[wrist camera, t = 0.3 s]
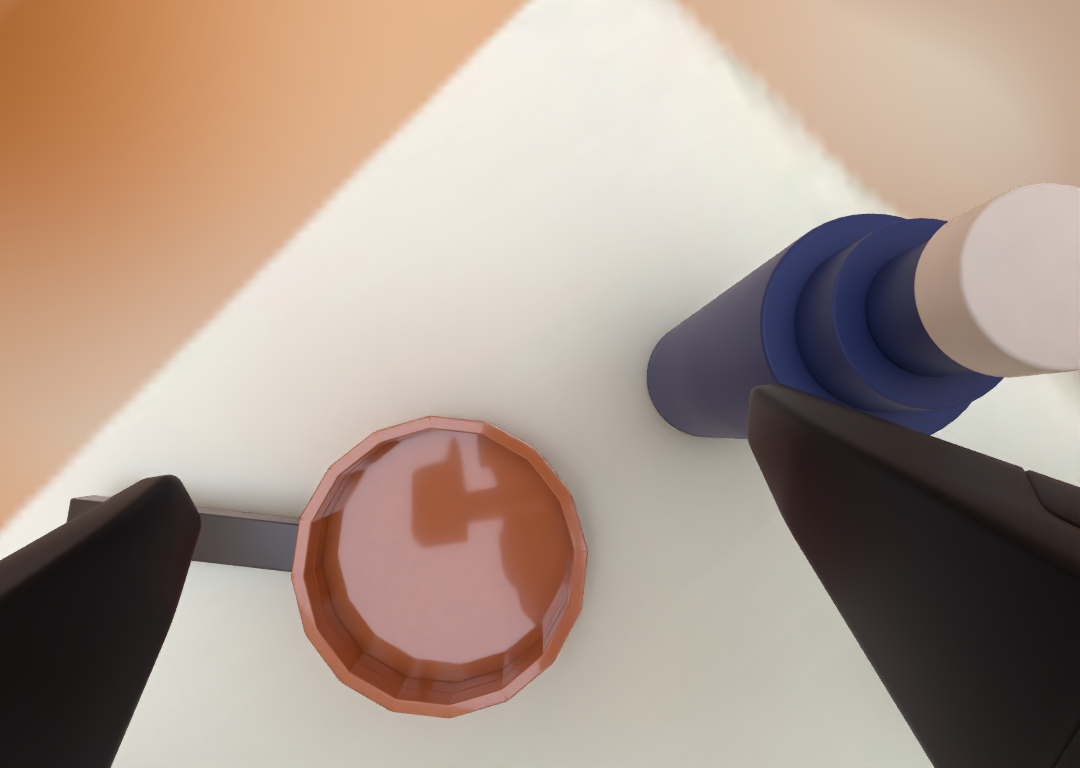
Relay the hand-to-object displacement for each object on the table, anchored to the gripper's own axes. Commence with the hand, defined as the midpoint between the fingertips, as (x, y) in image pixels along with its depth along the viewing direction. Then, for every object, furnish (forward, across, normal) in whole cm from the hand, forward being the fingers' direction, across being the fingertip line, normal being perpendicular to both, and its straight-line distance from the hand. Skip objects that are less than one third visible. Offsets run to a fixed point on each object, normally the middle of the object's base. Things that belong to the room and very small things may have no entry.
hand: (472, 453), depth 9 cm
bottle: (+13, -8, +7) cm, 17 cm away
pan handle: (+10, +13, +9) cm, 19 cm away
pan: (+10, +3, +12) cm, 16 cm away
